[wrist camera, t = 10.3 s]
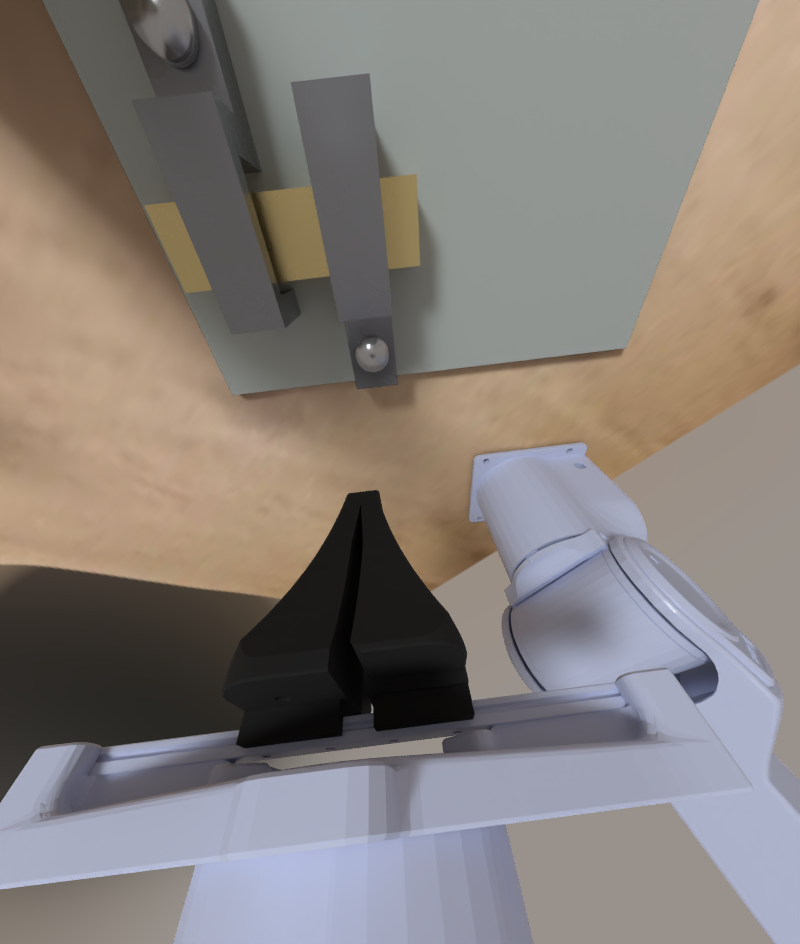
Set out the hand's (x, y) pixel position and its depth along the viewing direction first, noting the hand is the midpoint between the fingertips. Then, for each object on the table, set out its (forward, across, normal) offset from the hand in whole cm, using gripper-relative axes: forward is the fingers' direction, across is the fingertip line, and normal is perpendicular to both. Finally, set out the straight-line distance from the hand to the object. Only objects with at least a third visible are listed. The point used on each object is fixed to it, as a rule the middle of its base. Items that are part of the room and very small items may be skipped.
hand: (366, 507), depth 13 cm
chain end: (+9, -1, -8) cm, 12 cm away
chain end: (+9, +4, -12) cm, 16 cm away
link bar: (+9, +2, -10) cm, 14 cm away
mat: (+10, -4, -10) cm, 15 cm away
